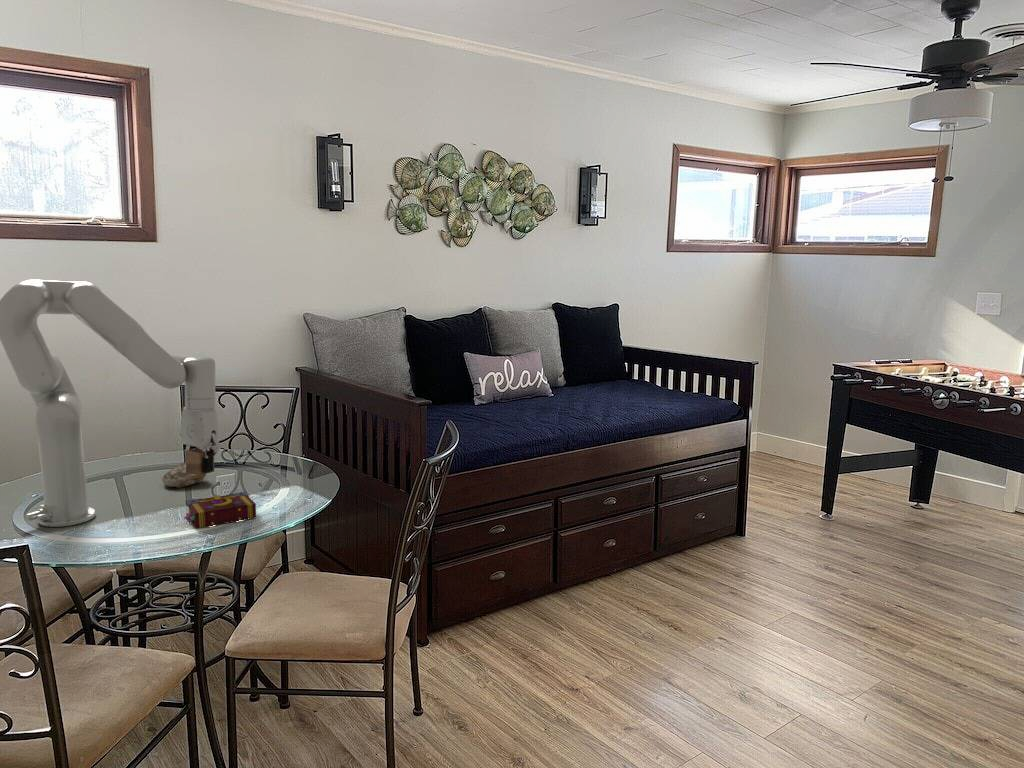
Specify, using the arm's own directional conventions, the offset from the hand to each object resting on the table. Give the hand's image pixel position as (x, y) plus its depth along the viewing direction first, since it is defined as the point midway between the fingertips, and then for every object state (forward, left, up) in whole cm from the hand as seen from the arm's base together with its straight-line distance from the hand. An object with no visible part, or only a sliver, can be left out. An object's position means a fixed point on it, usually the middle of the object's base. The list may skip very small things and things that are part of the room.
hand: (200, 469), depth 212 cm
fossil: (+10, +18, -10) cm, 23 cm away
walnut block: (0, 0, -1) cm, 1 cm away
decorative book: (-6, -13, -10) cm, 18 cm away
